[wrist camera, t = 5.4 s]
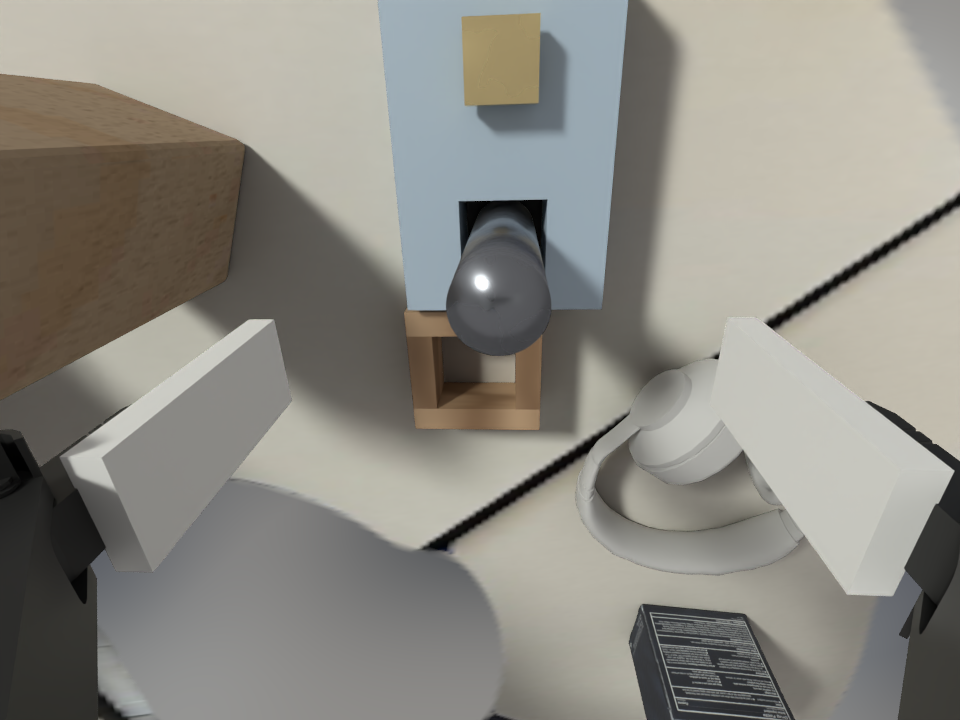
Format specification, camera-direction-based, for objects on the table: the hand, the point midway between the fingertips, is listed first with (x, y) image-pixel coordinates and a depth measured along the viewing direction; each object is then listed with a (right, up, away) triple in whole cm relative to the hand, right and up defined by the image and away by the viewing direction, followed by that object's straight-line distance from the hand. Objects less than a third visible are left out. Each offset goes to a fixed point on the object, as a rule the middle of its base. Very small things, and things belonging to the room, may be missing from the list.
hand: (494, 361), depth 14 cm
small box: (+20, -27, +35) cm, 49 cm away
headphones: (+17, -8, +26) cm, 32 cm away
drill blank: (+1, +9, +19) cm, 21 cm away
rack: (-1, +1, +23) cm, 23 cm away
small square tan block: (+1, +17, +14) cm, 22 cm away
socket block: (+1, +13, +16) cm, 21 cm away
